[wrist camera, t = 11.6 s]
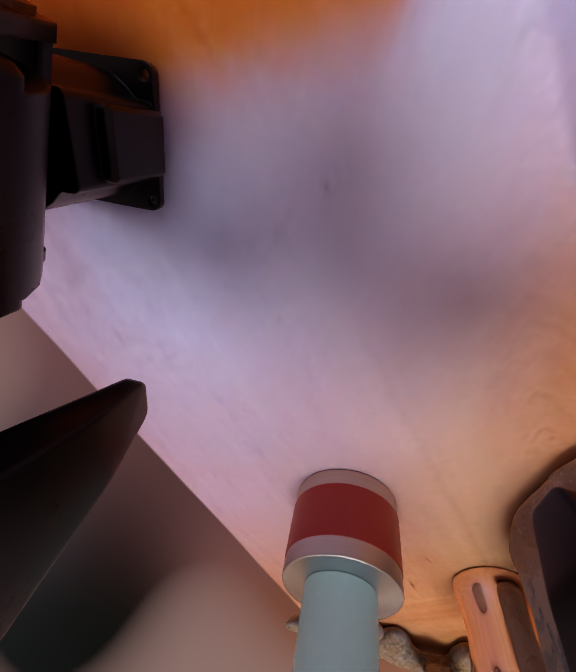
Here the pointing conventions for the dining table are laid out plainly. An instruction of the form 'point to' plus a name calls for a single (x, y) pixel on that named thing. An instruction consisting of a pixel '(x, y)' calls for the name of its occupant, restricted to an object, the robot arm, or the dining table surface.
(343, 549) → the tin
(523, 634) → the beer glass
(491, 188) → the dining table surface
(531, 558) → the pottery
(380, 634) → the rock
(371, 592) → the aqua bottle
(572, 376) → the dining table surface
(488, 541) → the dining table surface
